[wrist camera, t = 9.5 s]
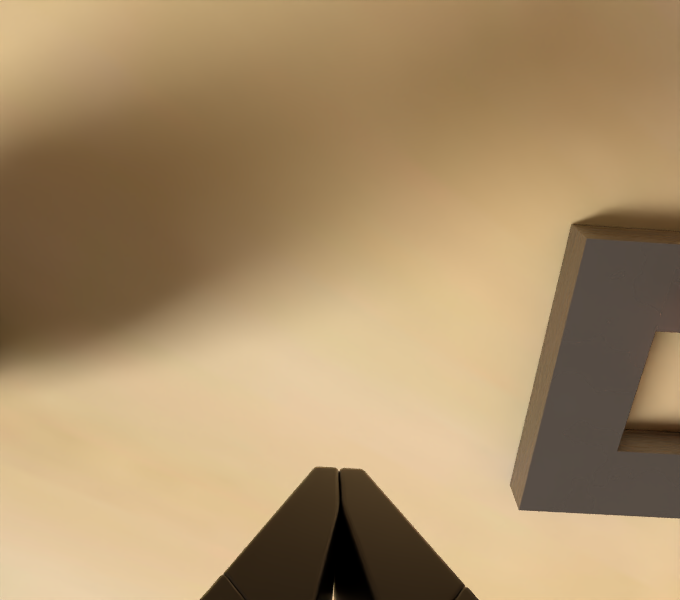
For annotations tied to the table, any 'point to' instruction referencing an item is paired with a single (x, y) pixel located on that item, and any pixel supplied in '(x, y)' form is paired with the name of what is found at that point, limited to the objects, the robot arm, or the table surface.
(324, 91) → the table surface
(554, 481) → the plate
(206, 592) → the robot arm
